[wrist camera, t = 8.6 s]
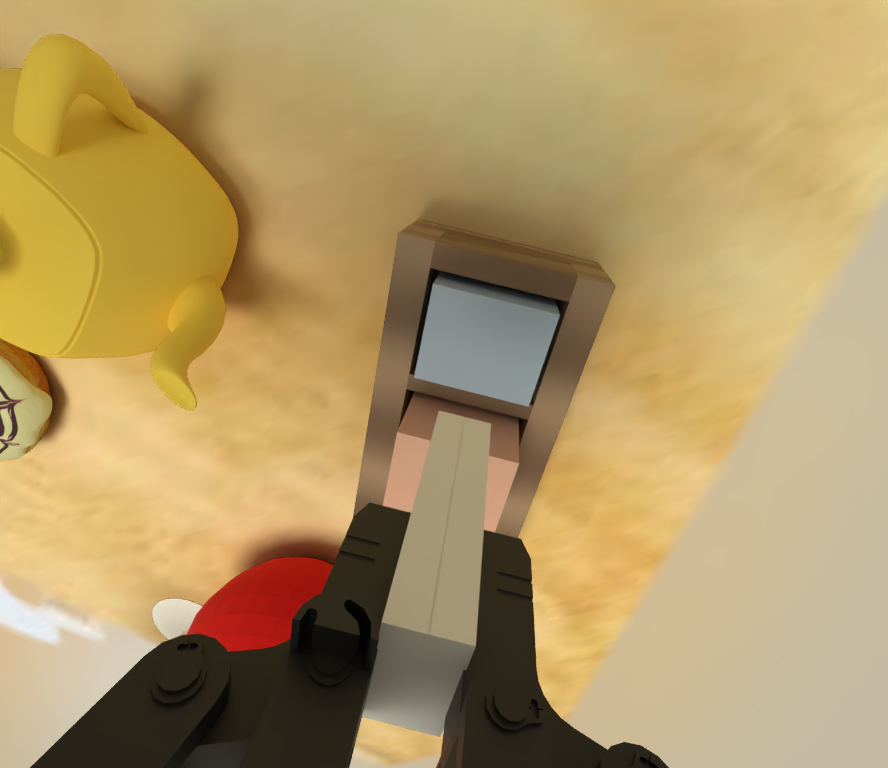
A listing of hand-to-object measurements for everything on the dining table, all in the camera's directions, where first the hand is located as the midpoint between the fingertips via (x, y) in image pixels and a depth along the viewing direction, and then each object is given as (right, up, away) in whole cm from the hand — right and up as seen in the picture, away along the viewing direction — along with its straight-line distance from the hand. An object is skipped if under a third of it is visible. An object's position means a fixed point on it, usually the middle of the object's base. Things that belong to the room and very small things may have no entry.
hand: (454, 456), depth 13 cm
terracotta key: (+1, -1, +14) cm, 14 cm away
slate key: (+2, +6, +13) cm, 14 cm away
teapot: (-18, +13, +14) cm, 26 cm away
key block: (+1, +1, +17) cm, 17 cm away
